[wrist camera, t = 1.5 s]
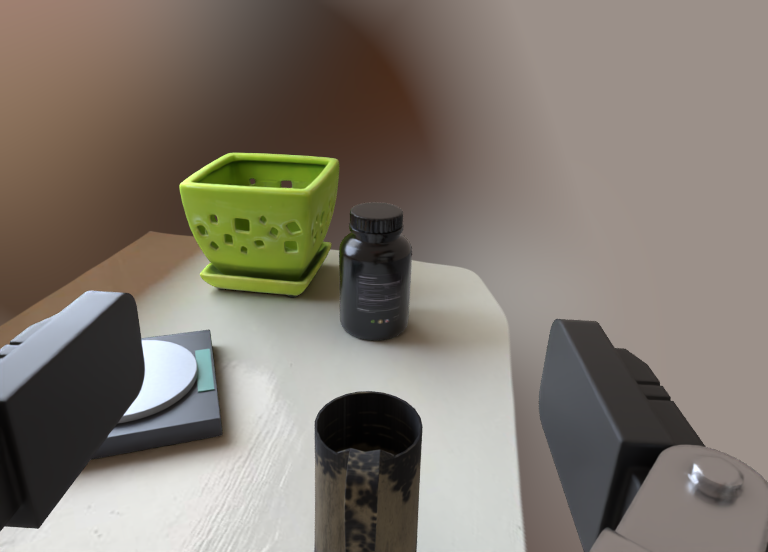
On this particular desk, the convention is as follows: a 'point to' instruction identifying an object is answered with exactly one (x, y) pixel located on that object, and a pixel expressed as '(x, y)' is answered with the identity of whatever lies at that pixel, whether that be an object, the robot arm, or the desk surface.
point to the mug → (367, 474)
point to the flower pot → (262, 219)
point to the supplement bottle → (375, 273)
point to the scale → (170, 397)
